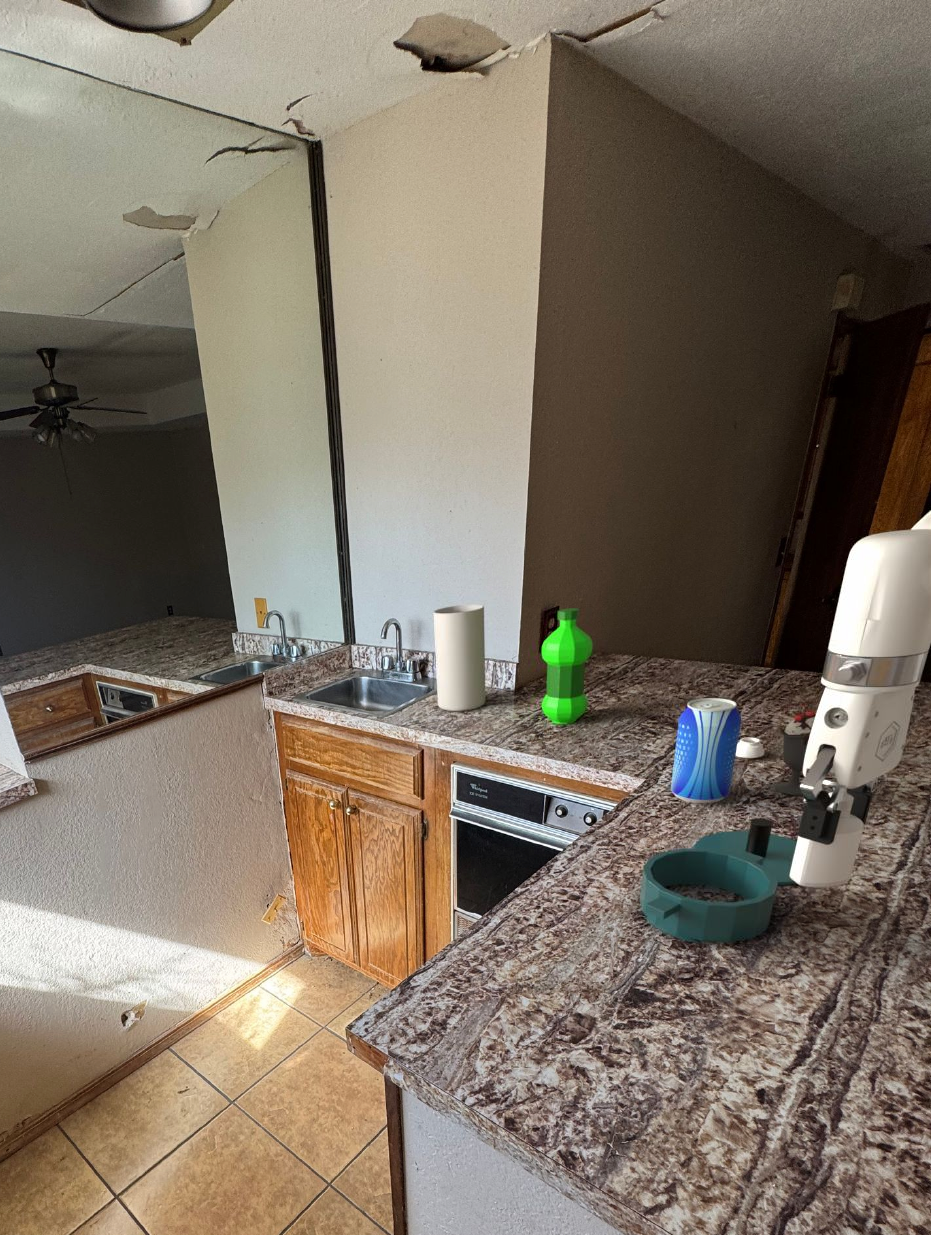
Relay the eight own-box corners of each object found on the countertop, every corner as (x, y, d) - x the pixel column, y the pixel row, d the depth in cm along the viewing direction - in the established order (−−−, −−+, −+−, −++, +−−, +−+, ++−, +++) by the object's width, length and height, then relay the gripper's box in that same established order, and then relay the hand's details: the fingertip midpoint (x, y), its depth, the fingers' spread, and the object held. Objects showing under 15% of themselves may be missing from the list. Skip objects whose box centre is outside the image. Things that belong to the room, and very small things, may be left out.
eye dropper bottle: (851, 894, 72) (879, 795, 66) (789, 885, 74) (811, 790, 69) (847, 875, 75) (873, 779, 70) (787, 867, 78) (808, 775, 72)
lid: (844, 863, 86) (855, 821, 83) (780, 902, 80) (789, 859, 77) (732, 828, 98) (739, 791, 95) (669, 860, 92) (674, 821, 89)
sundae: (766, 794, 105) (784, 705, 99) (769, 779, 110) (786, 693, 104) (817, 799, 102) (839, 706, 95) (817, 783, 106) (838, 694, 100)
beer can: (669, 786, 113) (680, 696, 106) (726, 788, 109) (741, 696, 102) (670, 806, 107) (681, 711, 100) (730, 809, 103) (746, 711, 96)
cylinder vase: (450, 715, 168) (446, 615, 157) (430, 704, 179) (425, 611, 168) (494, 705, 170) (493, 606, 159) (472, 696, 181) (469, 603, 170)
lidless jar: (737, 760, 119) (768, 759, 118) (740, 745, 117) (771, 743, 116) (727, 751, 123) (757, 749, 122) (729, 736, 122) (759, 734, 121)
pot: (806, 908, 78) (815, 869, 76) (707, 970, 71) (714, 929, 69) (697, 867, 89) (702, 832, 87) (602, 917, 82) (605, 880, 80)
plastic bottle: (558, 711, 158) (562, 605, 147) (597, 718, 150) (604, 606, 139) (531, 722, 154) (533, 613, 143) (569, 730, 146) (574, 615, 135)
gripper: (870, 693, 58) (825, 869, 65) (963, 653, 64) (912, 818, 72) (779, 682, 64) (749, 844, 72) (872, 647, 70) (835, 799, 78)
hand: (831, 829), depth 72 cm, fingers closed on eye dropper bottle, 5 cm apart
